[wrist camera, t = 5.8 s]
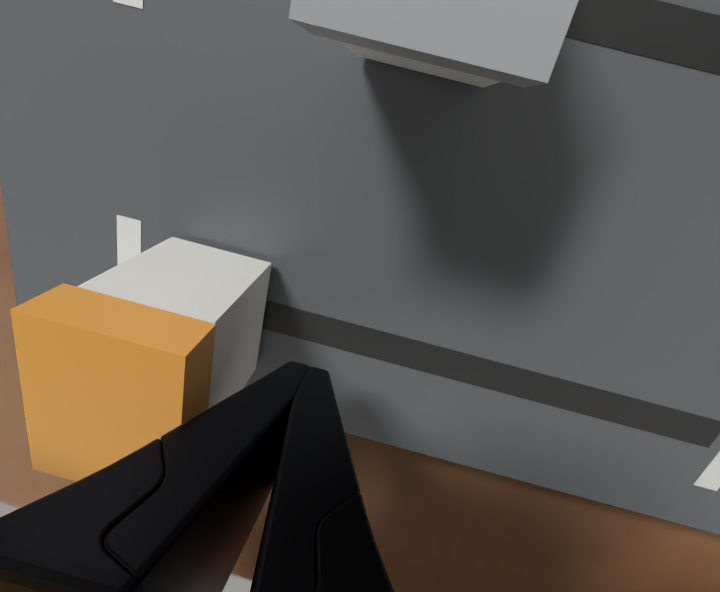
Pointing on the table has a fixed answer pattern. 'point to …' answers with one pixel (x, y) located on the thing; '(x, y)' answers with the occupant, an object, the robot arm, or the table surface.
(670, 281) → the console
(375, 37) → the grey fader
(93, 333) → the orange fader
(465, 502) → the table surface
